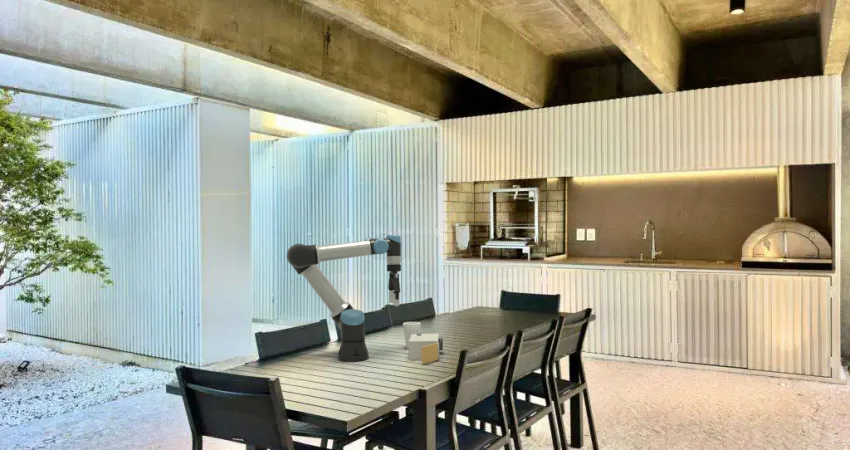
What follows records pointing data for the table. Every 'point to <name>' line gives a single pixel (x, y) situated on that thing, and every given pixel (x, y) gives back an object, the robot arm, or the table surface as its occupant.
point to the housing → (422, 344)
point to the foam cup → (410, 330)
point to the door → (430, 353)
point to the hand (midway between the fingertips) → (394, 304)
